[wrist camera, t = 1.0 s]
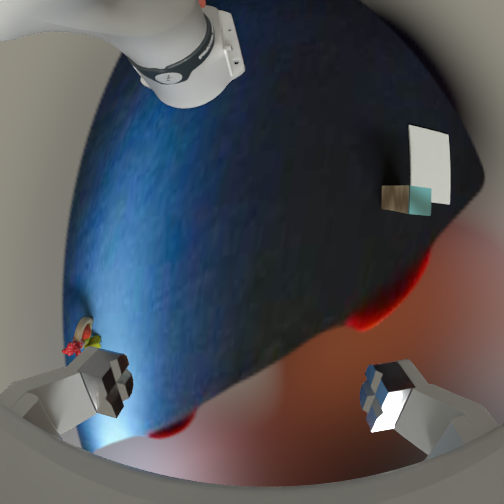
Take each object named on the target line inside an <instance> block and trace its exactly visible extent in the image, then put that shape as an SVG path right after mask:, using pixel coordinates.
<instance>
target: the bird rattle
mask: <svg viewBox="0 0 504 504" xmlns="http://www.w3.org/2000/svg"><path fill="white" fill-rule="evenodd" d="M92 324H93V319H92V318H90V317H87V316H85V317H83V318H82V319H81V320H80V321H79V323H78V325H77V328H76V331H75V335H74V337H73V342H69V344H68V345H67V348H66V349H63V350H62V352H63V353H65V354H67V355H68V356H71V355H72V354H74V352H75V354H76V357H77V356H78V355H79V354H80V353H81V350H80V349H82V348H83V347H84V348H85V349H86V348H87V347H90V346H92V347H96V348H100V347H101V345H100V344H99V342H100V340H101V338H100V337H99V336H98V335H95V336H93V337H90V336H91V333H92Z"/></svg>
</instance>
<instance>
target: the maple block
mask: <svg viewBox="0 0 504 504" xmlns="http://www.w3.org/2000/svg"><path fill="white" fill-rule="evenodd" d="M431 190H432V188H425V187H417V186H382V204H381V209H386V210H391V211H397V212H402V213H407V214H416V215H428V216H430V215H431Z"/></svg>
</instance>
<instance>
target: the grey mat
mask: <svg viewBox="0 0 504 504" xmlns="http://www.w3.org/2000/svg"><path fill="white" fill-rule="evenodd" d="M408 132H409V149H410V186H417V187H425V188H432V190H431V202H434V203H442V204H450V152H449V137H448V135H447V134H444V133H440V132H436V131H433V130H429V129H425V128H421V127H416V126H412V125H408Z"/></svg>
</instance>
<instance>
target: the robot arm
mask: <svg viewBox="0 0 504 504" xmlns="http://www.w3.org/2000/svg"><path fill="white" fill-rule="evenodd" d="M42 32H70V33H78V34H84V35H89V36H93V37H97V38H100V39H103V40H105V41H107V42H109V43H111V44H112V45H114V46H115V47H116V48H118V49H119V50H120V51H122V52H123V53H124V54H125V55H127V57H128V59H129V61H130V63H131V64H132V65H133V67H134V68H135V69H136V71H137V72H138V73H139V75H140V76H141V82H142V84H143V85H144V86H146V87H148V88H150V89H152V90H153V91H154V92H155V94H156V95H157V96H158V98H159V99H160V100H161V101H162V102H164V103H165V104H167V105H169V106H172V107H176V108H192V107H197V106H200V105H203V104H205V103H207V102H209V101H211V100H212V99H214V98H215V97H217V96H218V95H219V94H220V93H221V92H222V91H223V90H224V88H225V87H226V86H227V85H228V83H229V82H230V81H231V80H233V79H235V78H237V77H238V76H240V75H241V74H243V73H244V71H245V65H244V61H243V57H242V53H241V49H240V45H239V41H238V37H237V33H236V29H235V25H234V22H233V18H232V16H231V14H230V13H228V12H225V11H221V10H218V9H217V8H215V7H213V6H208V5H205V0H0V40H2V41H10V40H15V39H18V38H21V37H24V36H27V35H31V34H36V33H42ZM235 62H238V64H234V63H235ZM128 365H129V362H128V359H127V356H126V355H124V354H122V353H117V352H113V351H109V350H105V349H100V348H96V347H92V346H90V347H87V348H86V349H85V350H84V351H83V352H82V353H80V354H79V355H78V356H77V357H76V358H75V359H74V360H73V361H72V362H71V363H70V364H69V365H68V366H67V367H66V368H64V367H61V368H58V369H55V370H52V371H49V372H46V373H42V374H39V375H36V376H33V377H29V378H26V379H23V380H19V381H16V382H13V383H12V384H11V385H10V386H9V387H8V388H7V389H5V390H4V391H3V392H2V393H1V394H0V504H504V423H503V424H501V425H500V426H499V425H498V424H497V423H496V422H495V420H494V419H493V418H492V416H491V415H490V414H489V413H488V411H487V410H486V409H485V408H484V406H482V405H480V404H477V403H475V402H473V401H470V400H468V399H466V398H463V397H461V396H458V395H456V394H454V393H451V392H449V391H447V390H445V389H442V388H440V387H438V386H435V385H433V384H431V385H429V384H428V383H427V382H426V380H425V379H424V378H423V376H422V375H421V374H420V372H419V371H418V370H417V368H416V367H415V366H414V365H413V363H412V362H411V361H410V360H408V359H405V360H400V361H395V362H390V363H382V364H374V365H369V366H368V368H367V370H366V373H365V375H366V377H367V380H366V381H365V382H364V384H362V387H361V391H360V403H361V407H362V409H363V410H364V411H366V412H368V415H367V418H366V419H367V422H368V424H369V427H370V429H371V432H374V431H380V430H385V429H391V428H394V430H396V431H397V432H398V433H400V434H401V435H402V436H403V437H405V438H406V439H407V440H409V441H410V442H412V443H413V444H414V445H415V446H417V447H418V448H419V449H421V450H422V451H424V452H425V453H426V454H428V456H427V458H426V459H425V461H422V462H420V463H417V464H414V465H410V466H407V467H404V468H401V469H397V470H394V471H390V472H386V473H382V474H378V475H373V476H369V477H365V478H359V479H354V480H349V481H342V482H335V483H327V484H319V485H308V486H292V487H247V486H231V485H220V484H211V483H203V482H197V481H191V480H185V479H179V478H174V477H169V476H165V475H160V474H156V473H152V472H148V471H144V470H141V469H137V468H134V467H131V466H127V465H124V464H121V463H118V462H115V461H112V460H109V459H106V458H103V457H101V456H98V455H96V454H93V453H91V452H88V451H86V450H84V449H81V448H79V447H77V446H75V445H72V444H70V443H68V442H66V441H64V440H63V439H62V438H61V436H60V434H62V433H64V432H66V431H67V430H69V429H71V428H73V427H75V426H76V425H78V424H80V423H81V422H83V421H85V420H87V419H88V418H90V417H92V416H93V415H95V414H96V413H100V414H103V415H107V416H110V417H114V418H117V417H118V415H119V414H120V412H121V410H122V409H123V407H124V404H123V401H124V400H126V399H128V398H129V397H130V395H131V394H132V390H133V377H132V374H131V373H130V372H129V371H128V369H127V367H128Z"/></svg>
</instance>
